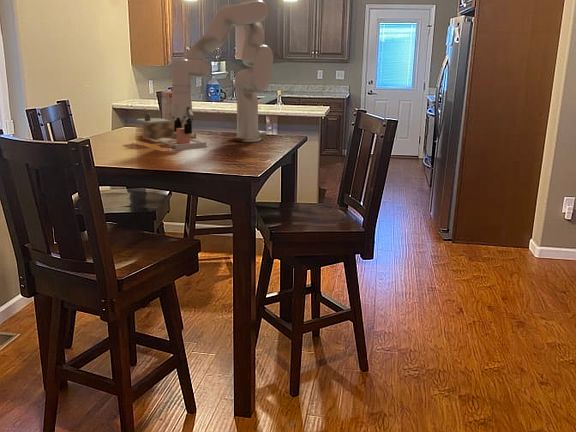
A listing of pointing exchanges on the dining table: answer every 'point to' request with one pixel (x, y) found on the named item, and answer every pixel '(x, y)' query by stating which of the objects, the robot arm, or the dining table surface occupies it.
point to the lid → (153, 119)
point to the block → (182, 136)
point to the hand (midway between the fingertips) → (183, 132)
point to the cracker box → (167, 105)
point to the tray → (185, 146)
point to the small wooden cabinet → (162, 131)
